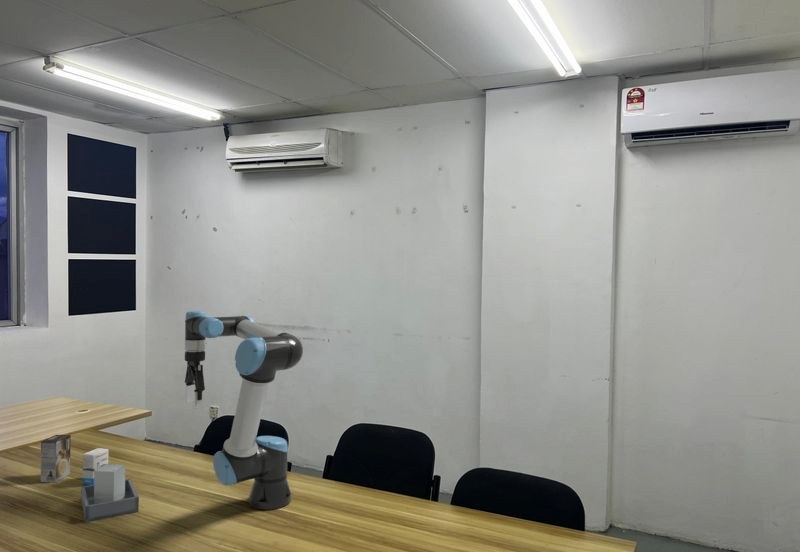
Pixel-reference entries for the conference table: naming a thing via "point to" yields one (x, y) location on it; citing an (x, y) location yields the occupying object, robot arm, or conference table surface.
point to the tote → (109, 503)
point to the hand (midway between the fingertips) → (194, 405)
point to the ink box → (93, 464)
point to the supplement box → (109, 483)
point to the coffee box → (55, 458)
